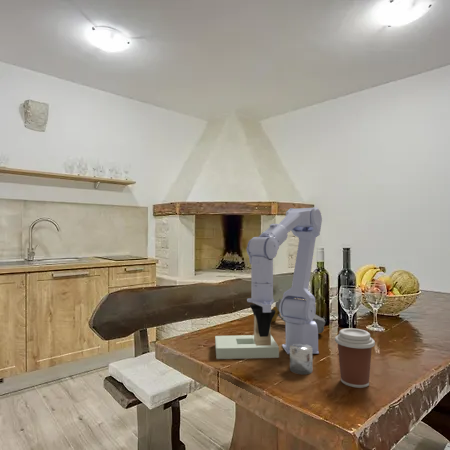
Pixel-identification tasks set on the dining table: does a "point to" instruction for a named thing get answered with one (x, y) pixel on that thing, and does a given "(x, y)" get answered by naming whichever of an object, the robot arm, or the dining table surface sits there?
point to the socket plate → (243, 348)
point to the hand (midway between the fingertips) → (262, 333)
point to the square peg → (261, 340)
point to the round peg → (301, 358)
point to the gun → (317, 319)
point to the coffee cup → (354, 356)
